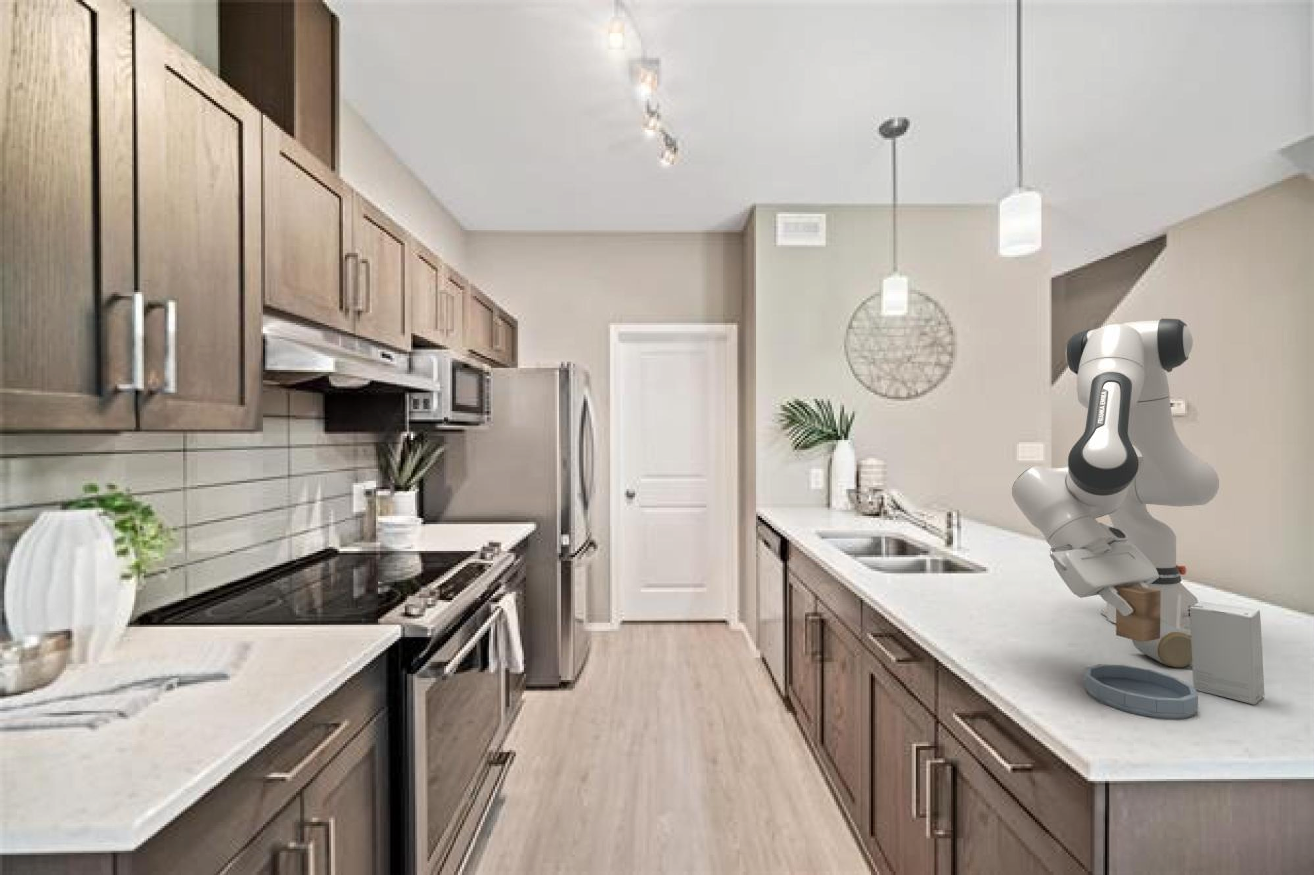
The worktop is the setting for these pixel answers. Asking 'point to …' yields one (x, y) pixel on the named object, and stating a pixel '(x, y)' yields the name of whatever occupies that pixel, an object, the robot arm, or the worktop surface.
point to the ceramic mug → (1168, 646)
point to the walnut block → (1140, 614)
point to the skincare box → (1227, 651)
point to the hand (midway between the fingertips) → (1142, 611)
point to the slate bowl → (1141, 691)
